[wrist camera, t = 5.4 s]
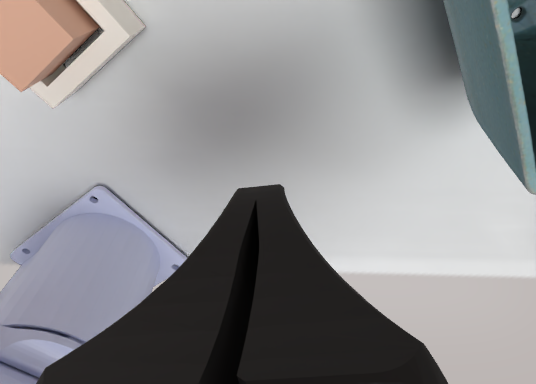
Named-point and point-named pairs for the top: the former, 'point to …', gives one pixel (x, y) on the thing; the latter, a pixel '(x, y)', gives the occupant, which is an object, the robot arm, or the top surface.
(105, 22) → the button strip
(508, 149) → the flower pot
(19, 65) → the orange-brown cube
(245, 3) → the top surface
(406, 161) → the top surface
